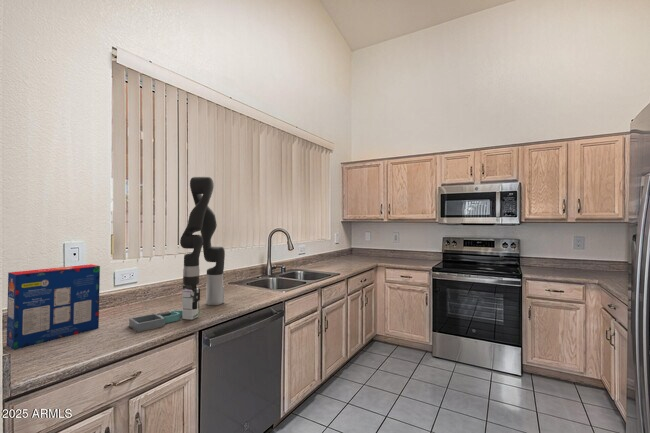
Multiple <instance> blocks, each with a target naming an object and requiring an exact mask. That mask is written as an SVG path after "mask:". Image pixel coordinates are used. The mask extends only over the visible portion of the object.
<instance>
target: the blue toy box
mask: <svg viewBox="0 0 650 433" xmlns="http://www.w3.org/2000/svg"><path fill="white" fill-rule="evenodd" d="M7 273H8V275H7V310H6V313H7V314H6V346H7V347H8V348H10V349H11V350H13V351H15V350H16V351H17V350H20V349H25V348H27V347H32V346H35V345H39V344H44V343H49V342H51V341H56V340H59V339H65V338H66V337H71V336H76V335H79V334H83V333H88V332H91V331H95V330H99V328H100V325H99V322H100V321H99V319H100V285H101V284H100V281H101V278H100V277H101V276H100V274H101V265H98V264H91V263H90V264H83V265H73V266H72V265H71V266H61V267H60V266H59V267H54V268H53V267H50V268H49V267H48V268H43V269H42V268H41V269H32V270H30V269H29V270H20V271H12V272H10V271H9V272H7Z"/></svg>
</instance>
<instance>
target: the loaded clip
mask: <svg viewBox="0 0 650 433" xmlns="http://www.w3.org/2000/svg"><path fill="white" fill-rule="evenodd" d="M170 312H171V315H175V312H177V313H179V314H180V318H182V308H180V309H173V308H171V309H170Z"/></svg>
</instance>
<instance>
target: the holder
mask: <svg viewBox="0 0 650 433" xmlns="http://www.w3.org/2000/svg"><path fill="white" fill-rule="evenodd" d="M128 321H129V323H128V324H129V325H128V326H129V328H132V329H133V330H134V331H135V332H136V333H139V332H144V331H148V330H154V329H157V328H162V327H165V323H164V318H163V317H161V316H159V315H157V313H155V312H154V313H150V314H145V315H144V314H143V315H141V316H140V315H139V316H134V317H129V320H128Z"/></svg>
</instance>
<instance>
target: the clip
mask: <svg viewBox="0 0 650 433" xmlns="http://www.w3.org/2000/svg"><path fill="white" fill-rule="evenodd" d="M159 316H161V315H159ZM161 317H162V316H161ZM163 318H164V324H168V323H172V322H177V321H181V317H180V314H179V313H177V312H175V315H170V316H166V317H163Z"/></svg>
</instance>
